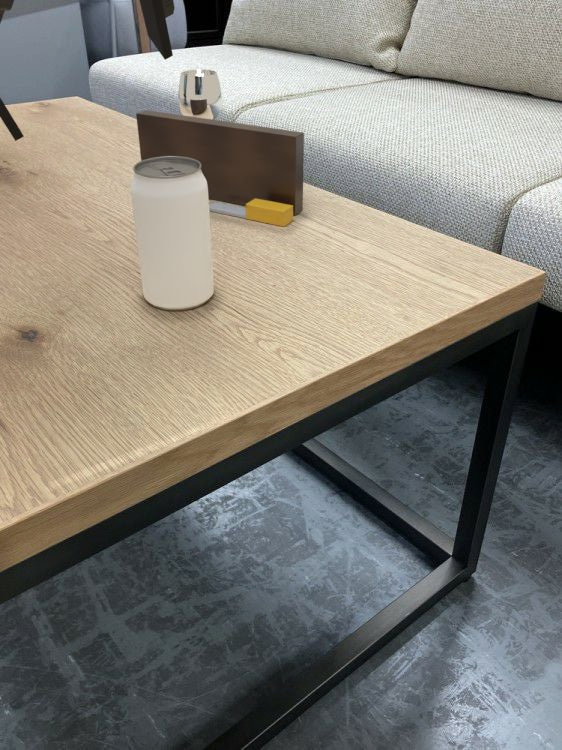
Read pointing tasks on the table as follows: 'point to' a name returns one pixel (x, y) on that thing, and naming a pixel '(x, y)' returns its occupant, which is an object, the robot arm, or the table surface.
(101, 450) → the table surface
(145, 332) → the table surface
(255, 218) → the knife
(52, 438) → the table surface
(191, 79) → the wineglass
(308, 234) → the table surface
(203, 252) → the can
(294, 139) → the backboard
